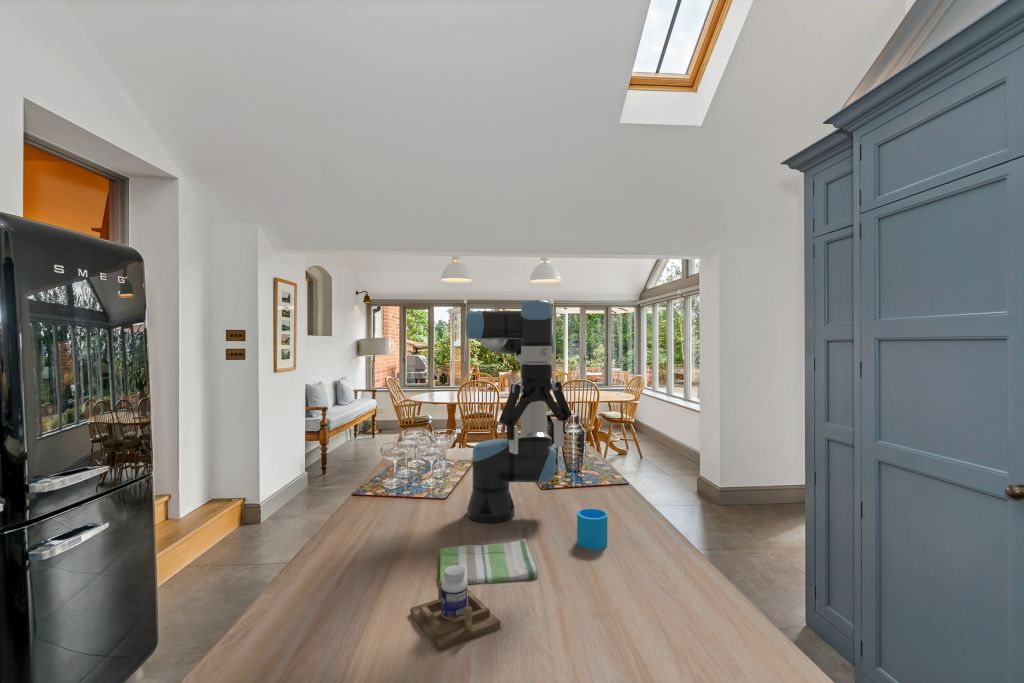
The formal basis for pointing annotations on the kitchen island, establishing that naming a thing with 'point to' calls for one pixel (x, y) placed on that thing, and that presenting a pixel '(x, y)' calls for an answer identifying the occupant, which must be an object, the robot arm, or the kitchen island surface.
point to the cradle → (454, 621)
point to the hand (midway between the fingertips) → (536, 449)
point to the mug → (592, 529)
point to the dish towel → (490, 562)
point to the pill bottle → (454, 593)
